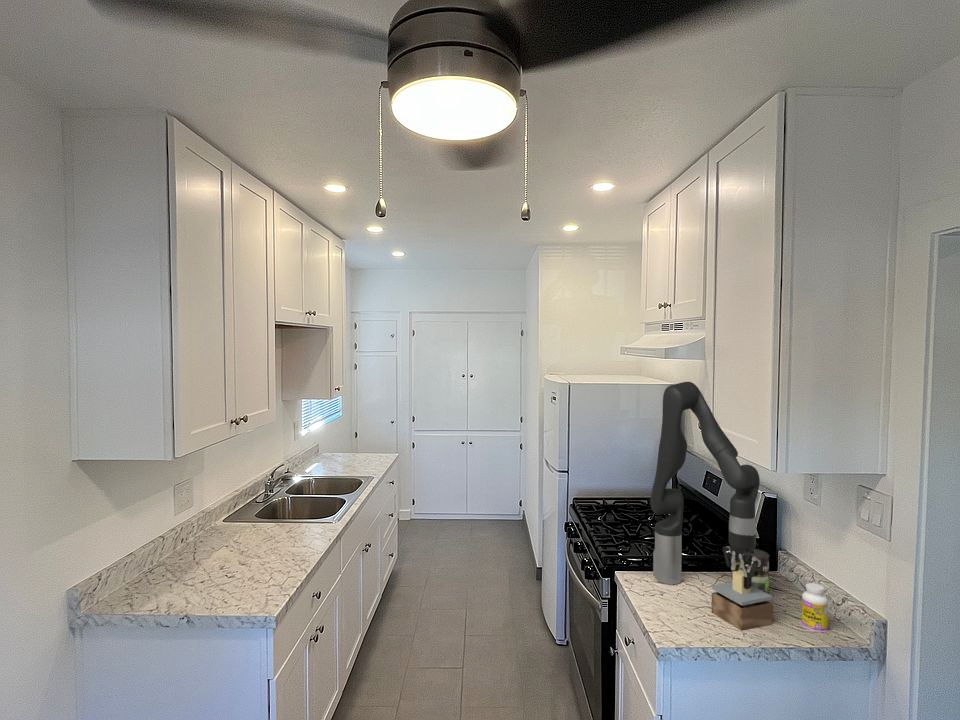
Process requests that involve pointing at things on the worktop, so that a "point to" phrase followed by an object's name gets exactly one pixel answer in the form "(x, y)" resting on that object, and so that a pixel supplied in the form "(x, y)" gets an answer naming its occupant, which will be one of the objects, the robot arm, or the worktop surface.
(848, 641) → the worktop surface
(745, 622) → the box
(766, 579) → the coffee can
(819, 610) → the supplement bottle
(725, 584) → the lid
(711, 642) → the worktop surface
